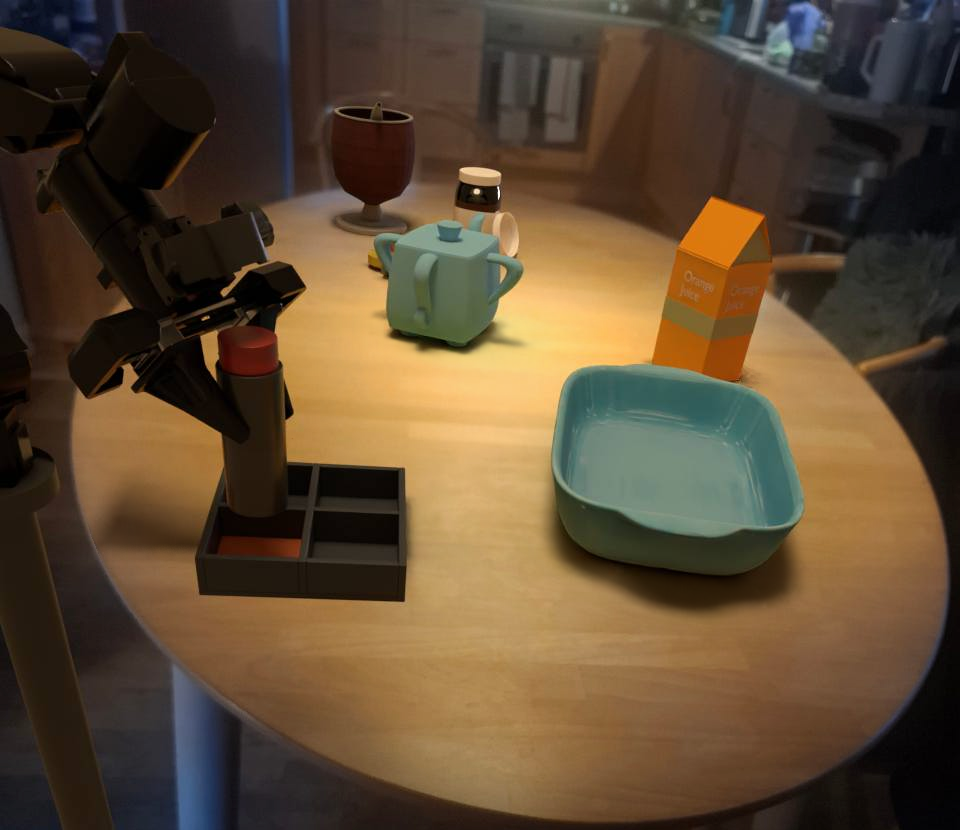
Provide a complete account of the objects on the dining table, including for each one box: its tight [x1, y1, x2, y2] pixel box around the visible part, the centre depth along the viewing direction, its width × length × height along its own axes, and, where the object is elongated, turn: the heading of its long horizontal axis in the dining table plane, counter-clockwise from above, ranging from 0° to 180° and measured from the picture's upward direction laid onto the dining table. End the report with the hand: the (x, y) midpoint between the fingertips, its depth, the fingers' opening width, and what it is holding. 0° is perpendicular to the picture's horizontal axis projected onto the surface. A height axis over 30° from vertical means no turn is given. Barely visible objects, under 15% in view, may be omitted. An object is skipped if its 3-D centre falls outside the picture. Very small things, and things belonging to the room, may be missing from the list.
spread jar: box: [452, 166, 520, 258], centre depth 146 cm, size 12×11×12 cm
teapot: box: [373, 213, 525, 347], centre depth 115 cm, size 18×16×14 cm
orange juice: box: [651, 195, 774, 382], centre depth 109 cm, size 8×9×20 cm
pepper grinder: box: [214, 326, 289, 518], centre depth 65 cm, size 5×5×13 cm
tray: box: [194, 461, 408, 603], centre depth 74 cm, size 16×16×4 cm
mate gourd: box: [330, 101, 416, 237], centre depth 149 cm, size 16×14×20 cm
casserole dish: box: [550, 363, 806, 576], centre depth 86 cm, size 37×22×7 cm, turn 172°
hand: (267, 429), depth 64 cm, fingers closed on pepper grinder, 4 cm apart
